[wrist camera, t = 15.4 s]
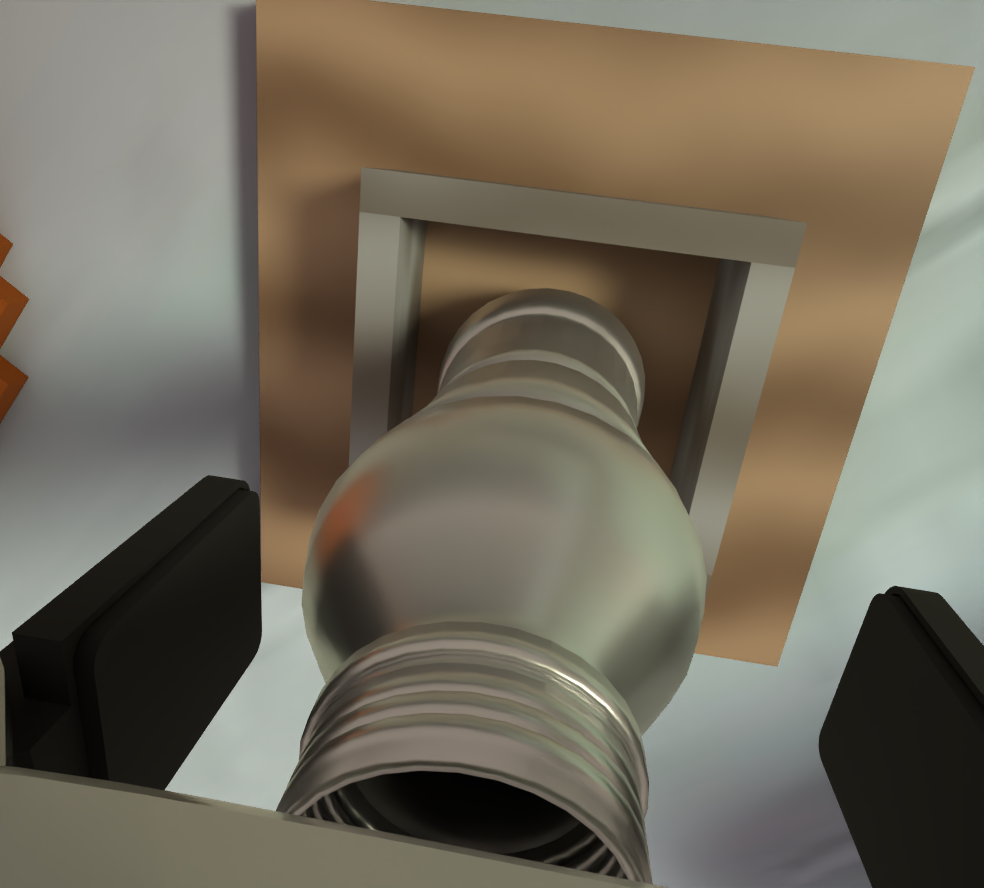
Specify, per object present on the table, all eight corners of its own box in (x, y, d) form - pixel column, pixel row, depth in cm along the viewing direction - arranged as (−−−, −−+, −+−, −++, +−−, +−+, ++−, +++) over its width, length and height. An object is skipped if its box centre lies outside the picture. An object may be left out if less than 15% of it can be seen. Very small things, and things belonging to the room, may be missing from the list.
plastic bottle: (644, 441, 26) (833, 1132, 7) (466, 459, 27) (214, 1100, 8) (630, 264, 23) (852, 580, 5) (437, 291, 24) (1, 634, 6)
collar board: (275, -1, 23) (190, -53, 18) (949, 74, 22) (1065, 41, 17) (275, 564, 31) (217, 639, 26) (767, 643, 30) (808, 739, 25)
